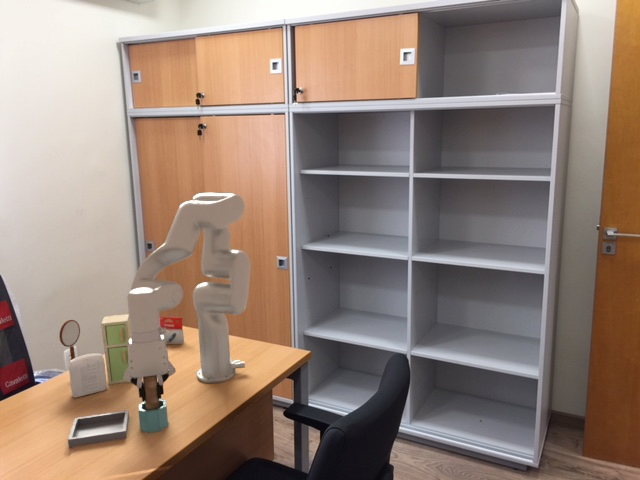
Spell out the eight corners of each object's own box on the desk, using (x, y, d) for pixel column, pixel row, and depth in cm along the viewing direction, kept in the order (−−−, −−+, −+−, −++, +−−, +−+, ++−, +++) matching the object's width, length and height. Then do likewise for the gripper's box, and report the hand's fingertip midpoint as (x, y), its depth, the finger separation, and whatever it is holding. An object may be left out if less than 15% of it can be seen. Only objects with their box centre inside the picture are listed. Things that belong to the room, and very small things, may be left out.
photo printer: (105, 385, 175) (101, 348, 172) (108, 390, 171) (104, 353, 168) (70, 394, 169) (66, 356, 166) (73, 399, 166) (68, 361, 163)
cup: (168, 417, 154) (166, 396, 153) (168, 431, 147) (166, 409, 146) (141, 421, 152) (139, 400, 151) (139, 436, 145) (137, 413, 144)
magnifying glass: (68, 384, 176) (60, 325, 171) (63, 383, 176) (56, 325, 172) (86, 372, 184) (79, 316, 179) (82, 371, 184) (75, 315, 180)
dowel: (161, 420, 152) (156, 370, 148) (161, 427, 148) (156, 376, 145) (147, 422, 151) (143, 372, 148) (147, 429, 147) (142, 378, 144)
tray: (129, 418, 154) (128, 410, 153) (126, 439, 144) (125, 430, 143) (75, 426, 150) (74, 418, 150) (69, 448, 140) (67, 439, 139)
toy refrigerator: (107, 386, 174) (100, 324, 169) (110, 376, 181) (104, 316, 176) (133, 383, 175) (127, 321, 171) (135, 373, 182) (129, 313, 178)
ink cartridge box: (181, 344, 206) (179, 319, 204) (154, 342, 208) (152, 318, 206) (184, 341, 208) (182, 317, 206) (157, 340, 210) (155, 316, 208)
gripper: (178, 325, 150) (182, 387, 153) (114, 333, 145) (120, 396, 149) (178, 335, 142) (183, 400, 146) (111, 343, 138) (118, 409, 142)
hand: (151, 397), depth 148 cm, fingers closed on dowel, 3 cm apart
